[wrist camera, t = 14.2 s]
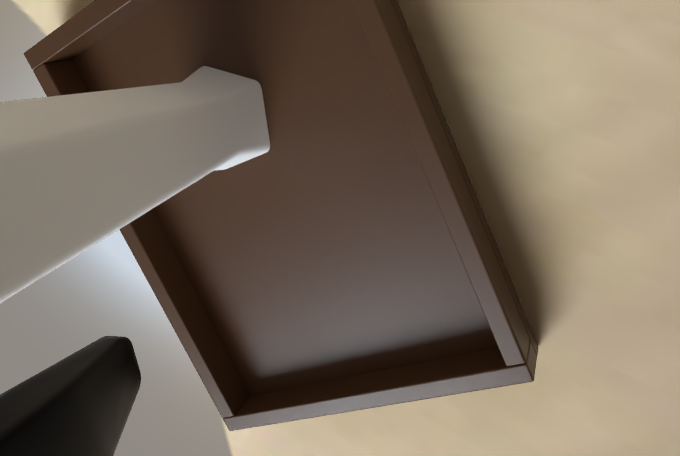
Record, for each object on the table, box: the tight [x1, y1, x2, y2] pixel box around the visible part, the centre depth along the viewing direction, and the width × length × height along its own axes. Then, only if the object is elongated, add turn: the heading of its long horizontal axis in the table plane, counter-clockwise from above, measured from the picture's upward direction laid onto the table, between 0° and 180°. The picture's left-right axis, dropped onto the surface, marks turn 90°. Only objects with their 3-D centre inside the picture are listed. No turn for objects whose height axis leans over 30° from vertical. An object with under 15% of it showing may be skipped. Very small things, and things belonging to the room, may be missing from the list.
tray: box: [24, 0, 538, 431], centre depth 21 cm, size 17×13×2 cm
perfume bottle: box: [0, 66, 270, 303], centre depth 15 cm, size 5×4×15 cm
